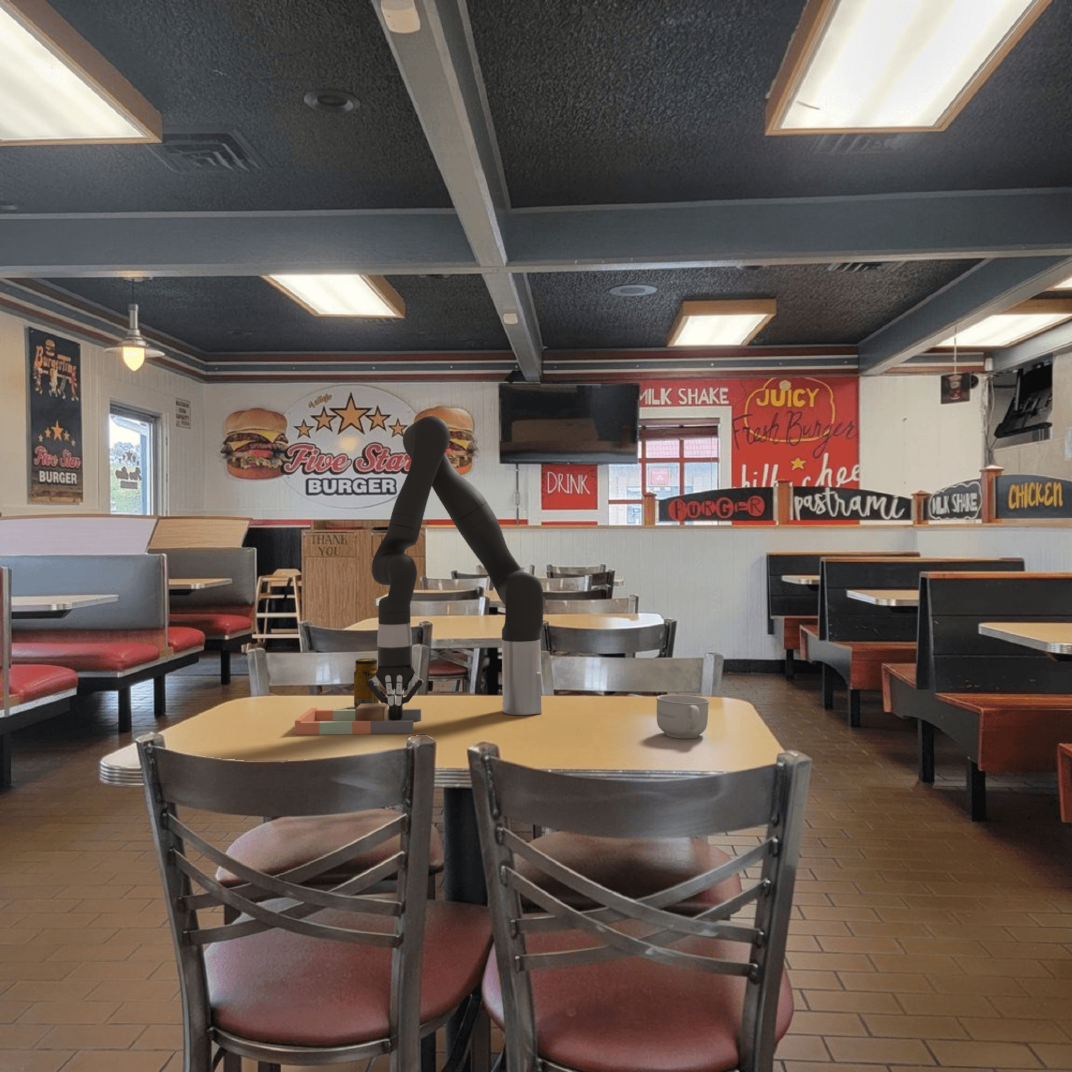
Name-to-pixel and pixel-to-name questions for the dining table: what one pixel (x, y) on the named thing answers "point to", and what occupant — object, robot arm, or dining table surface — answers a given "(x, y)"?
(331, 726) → the tray
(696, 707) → the teacup
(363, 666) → the condiment
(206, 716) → the dining table surface
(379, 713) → the block
